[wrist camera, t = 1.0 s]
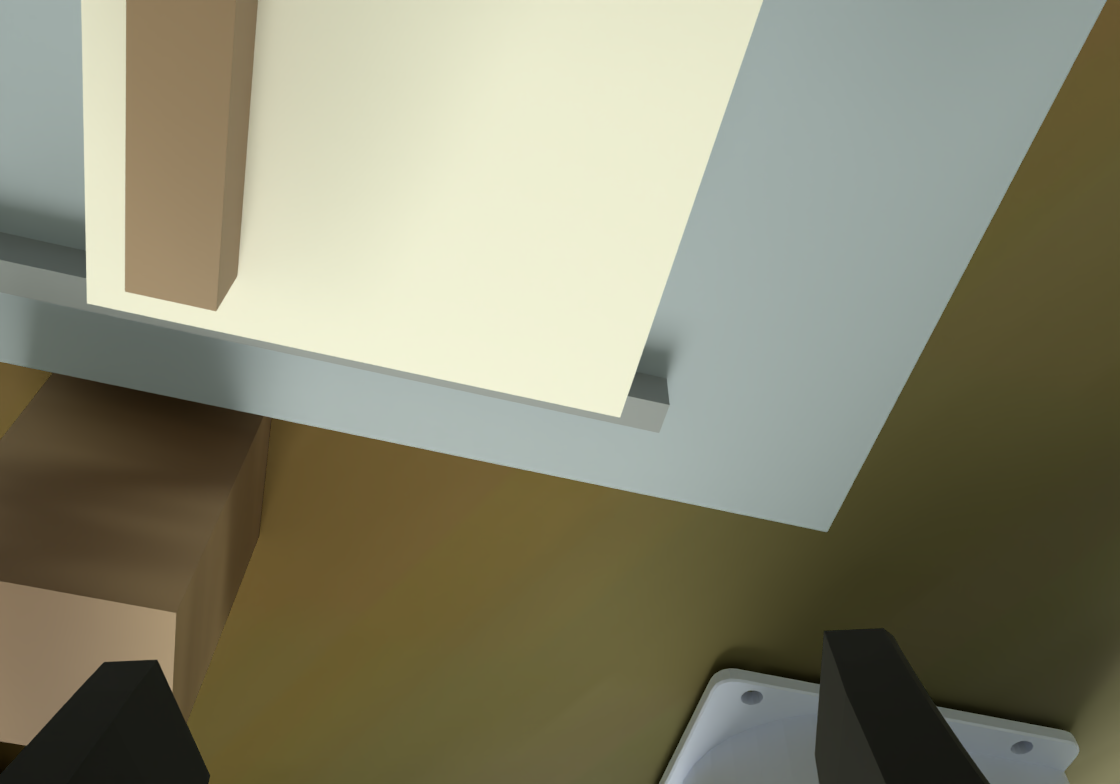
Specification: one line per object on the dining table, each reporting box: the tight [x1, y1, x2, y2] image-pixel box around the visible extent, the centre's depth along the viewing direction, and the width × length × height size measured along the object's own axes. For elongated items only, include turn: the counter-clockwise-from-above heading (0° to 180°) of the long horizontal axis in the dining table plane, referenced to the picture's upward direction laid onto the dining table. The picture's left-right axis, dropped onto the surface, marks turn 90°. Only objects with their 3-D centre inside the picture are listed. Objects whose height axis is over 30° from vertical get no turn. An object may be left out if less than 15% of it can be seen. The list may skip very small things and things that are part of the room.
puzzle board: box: [0, 0, 1106, 532], centre depth 15 cm, size 22×14×3 cm, turn 76°
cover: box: [81, 0, 763, 418], centre depth 14 cm, size 8×8×3 cm
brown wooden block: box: [0, 373, 271, 746], centre depth 19 cm, size 4×4×6 cm
